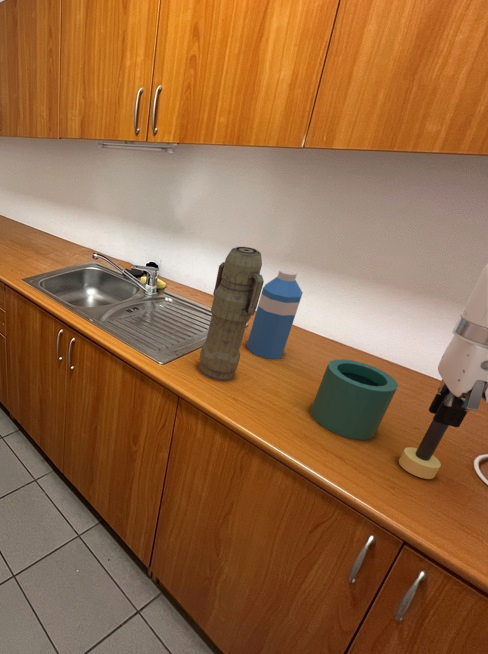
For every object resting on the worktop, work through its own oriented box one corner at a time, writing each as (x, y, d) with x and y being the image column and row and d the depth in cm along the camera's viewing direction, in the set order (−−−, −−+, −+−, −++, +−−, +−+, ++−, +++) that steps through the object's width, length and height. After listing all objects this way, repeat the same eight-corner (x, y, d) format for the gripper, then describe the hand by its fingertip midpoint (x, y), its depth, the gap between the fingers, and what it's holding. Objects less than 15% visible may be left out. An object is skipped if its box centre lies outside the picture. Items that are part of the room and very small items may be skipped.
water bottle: (287, 361, 111) (315, 280, 101) (249, 355, 114) (272, 276, 104) (278, 344, 119) (302, 267, 109) (242, 339, 122) (263, 264, 112)
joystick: (429, 465, 78) (470, 391, 71) (438, 483, 74) (482, 407, 67) (395, 454, 81) (431, 382, 74) (401, 471, 77) (440, 397, 70)
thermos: (209, 356, 114) (237, 240, 100) (247, 379, 104) (283, 254, 90) (186, 362, 111) (211, 244, 98) (221, 387, 101) (255, 260, 87)
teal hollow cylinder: (369, 415, 91) (391, 369, 86) (379, 447, 83) (404, 398, 77) (308, 398, 97) (325, 353, 92) (312, 426, 88) (331, 379, 83)
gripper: (550, 363, 58) (491, 457, 65) (501, 318, 70) (456, 401, 77) (475, 348, 61) (427, 438, 69) (441, 308, 74) (403, 388, 81)
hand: (443, 418), depth 73 cm, fingers closed on joystick
